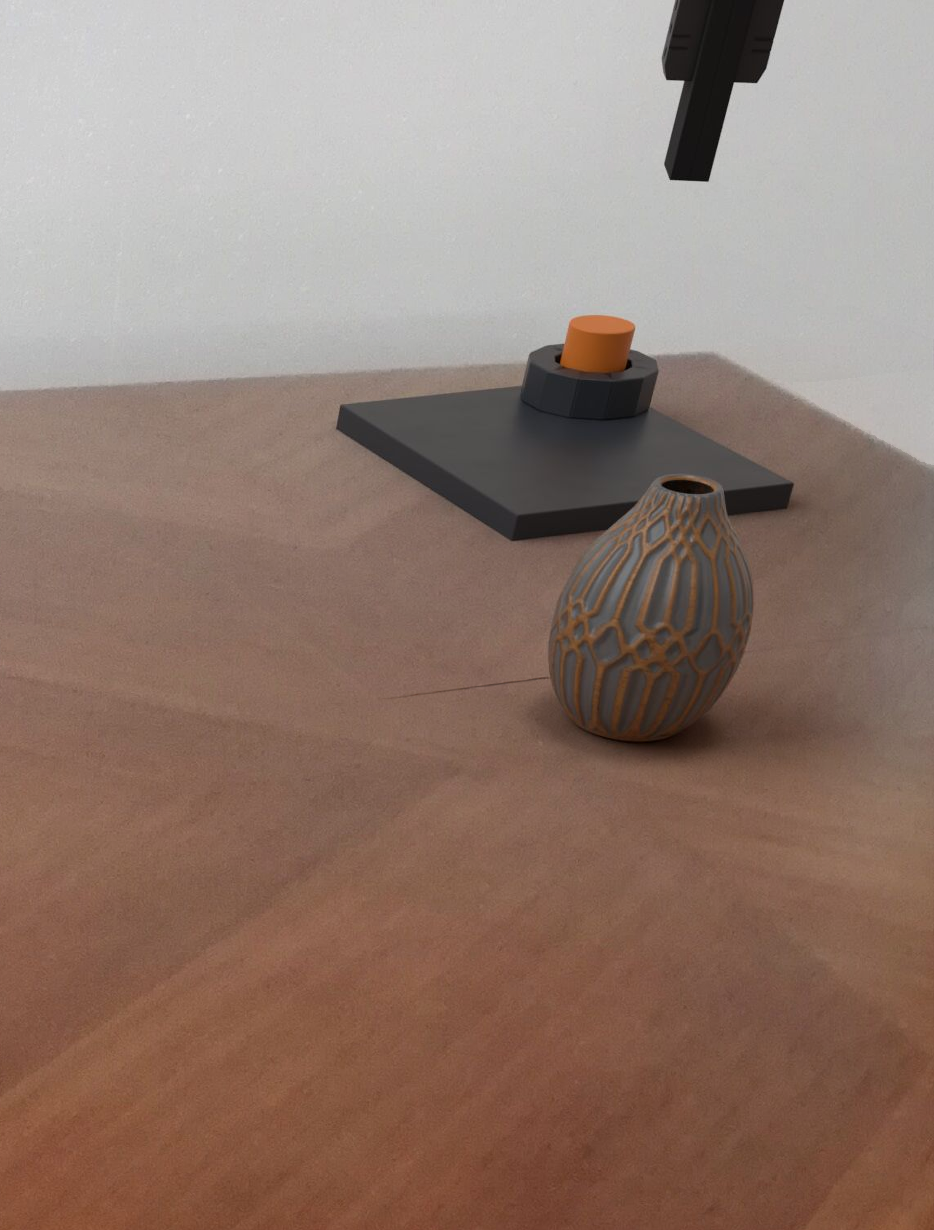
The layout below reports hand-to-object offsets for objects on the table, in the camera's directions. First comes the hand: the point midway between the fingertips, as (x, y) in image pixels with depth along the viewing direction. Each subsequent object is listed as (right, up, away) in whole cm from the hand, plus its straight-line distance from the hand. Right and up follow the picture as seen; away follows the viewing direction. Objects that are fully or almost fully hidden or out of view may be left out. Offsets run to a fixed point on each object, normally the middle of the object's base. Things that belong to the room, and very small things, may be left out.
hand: (686, 172), depth 100 cm
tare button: (+4, +1, +18) cm, 19 cm away
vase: (-5, -24, -6) cm, 25 cm away
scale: (+1, -5, +16) cm, 17 cm away
